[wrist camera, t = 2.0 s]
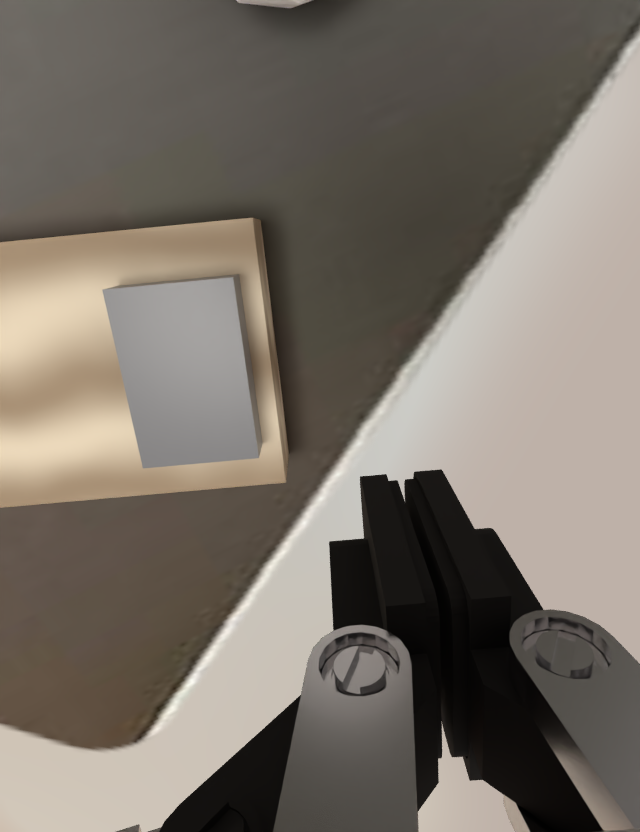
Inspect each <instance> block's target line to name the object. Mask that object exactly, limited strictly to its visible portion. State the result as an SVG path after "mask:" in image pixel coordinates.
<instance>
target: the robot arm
mask: <svg viewBox="0 0 640 832" xmlns="http://www.w3.org/2000/svg"><path fill="white" fill-rule="evenodd" d="M360 488H361V502H362V515H363V529H364V539H354V540H342V541H331V542H329V546H330V568H331V587H332V608H333V629H334V631H332V632H331V633H329V634H327V635H326V636H324V637H323V638H321V640H320V641H319V642H318V643H317V644H316V645H315V646H314V647H313V649H312V652H311V654H310V656H309V659H308V663H307V668H306V673H305V677H304V682H303V687H302V692H301V695H300V696H299V697H298V698H297V699H296V700H295V701H294V702H293V703H291V704H290V705H289V706H288V707H287V708H286V709H285V710H284V711H283V712H281V713H280V714H279V715H278V716H277V717H276V718H275V719H274V720H273V721H272V722H270V723H269V724H268V725H267V726H266V727H265V728H264V729H263V730H262V731H260V732H259V733H258V734H257V735H256V736H255V737H254V738H253V739H252V740H250V741H249V742H248V743H247V744H246V745H245V746H244V747H243V748H242V749H241V750H239V751H238V752H237V753H236V754H235V755H234V756H233V757H232V758H231V759H229V760H228V761H227V762H226V763H225V764H224V765H223V766H222V767H221V768H220V769H218V770H217V771H216V772H215V773H214V774H213V775H212V776H211V777H210V778H208V779H207V780H206V781H205V782H204V783H203V784H202V785H201V786H200V787H198V788H197V789H196V790H195V791H194V792H193V793H192V794H191V795H190V796H188V797H187V798H186V799H185V800H184V801H183V802H182V803H181V804H180V805H179V806H178V807H177V808H176V809H175V811H174V812H173V813H172V814H171V815H170V816H169V817H168V818H167V819H166V821H165V822H164V824H163V826H162V827H161V828H158V829H155V830H152V831H149V832H418V811H419V809H420V808H421V806H422V805H423V804H424V802H425V801H426V799H427V798H428V797H429V795H430V794H431V792H432V791H433V790H434V788H435V787H436V785H437V784H438V758H441V757H442V730H441V729H442V724H443V728H444V732H445V736H446V739H447V743H448V747H449V750H450V754H451V756H452V757H462V756H463V759H464V762H465V766H466V769H467V772H468V776H469V779H470V781H471V780H484V781H486V782H487V783H488V784H489V785H491V786H492V787H494V788H495V789H497V790H498V791H499V792H501V793H502V794H504V806H505V809H506V812H507V815H508V818H509V820H510V822H511V824H512V826H513V828H514V831H515V832H640V664H639V663H638V662H637V661H636V660H635V659H634V657H632V655H631V654H630V653H629V652H628V651H627V650H626V649H625V648H624V647H623V646H622V645H621V644H620V643H619V642H618V641H617V640H616V639H615V638H614V637H613V636H612V635H611V634H610V633H608V632H607V631H606V630H605V629H604V628H602V627H601V626H600V625H598V624H596V623H594V622H592V621H590V620H589V619H587V618H585V617H582V616H579V615H576V614H573V613H570V612H566V611H557V610H543V608H542V607H541V605H540V603H539V602H538V600H537V598H536V597H535V595H534V594H533V592H532V591H531V589H530V587H529V586H528V584H527V582H526V581H525V579H524V578H523V576H522V574H521V572H520V571H519V569H518V568H517V566H516V564H515V563H514V561H513V560H512V558H511V557H510V555H509V553H508V551H507V550H506V548H505V547H504V545H503V543H502V542H501V540H500V539H499V537H498V535H497V534H496V532H495V531H494V530H493V529H491V528H484V529H474V527H473V526H472V524H471V522H470V520H469V518H468V516H467V514H466V513H465V511H464V509H463V507H462V505H461V504H460V502H459V500H458V498H457V496H456V494H455V493H454V491H453V489H452V487H451V485H450V484H449V482H448V480H447V478H446V477H445V475H444V473H443V471H442V470H431V471H420V472H414V477H413V479H407V480H405V501H404V499H403V495H402V492H401V490H400V487H399V484H398V481H396V480H395V481H388V478H387V475H386V474H385V475H375V476H363V477H360ZM441 721H442V724H441ZM117 832H141V829H140V825H136V826H132V827H130V828H126V829H123V830H120V831H117Z"/></svg>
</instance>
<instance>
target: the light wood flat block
mask: <svg viewBox="0 0 640 832" xmlns="http://www.w3.org/2000/svg"><path fill="white" fill-rule="evenodd" d="M235 274H239V277H240V284H241V292H242V299H243V306H244V313H245V320H246V328H247V335H248V342H249V349H250V356H251V363H252V371H253V378H254V385H255V392H256V399H257V407H258V414H259V421H260V428H261V435H262V443H263V444H262V448H261V452H260V456H259V458H255V459H244V460H233V461H222V462H210V463H199V464H188V465H177V466H166V467H154V468H143V467H142V462H141V458H140V453H139V449H138V445H137V440H136V436H135V431H134V427H133V423H132V418H131V414H130V409H129V405H128V401H127V396H126V392H125V388H124V383H123V379H122V374H121V370H120V366H119V361H118V357H117V352H116V348H115V344H114V339H113V335H112V330H111V326H110V322H109V317H108V313H107V308H106V304H105V300H104V295H103V291H102V290H103V289H107V288H111V287H115V286H120V285H130V284H141V283H151V282H162V281H172V280H182V279H193V278H203V277H214V276H224V275H235ZM288 459H289V450H288V442H287V433H286V425H285V417H284V409H283V400H282V392H281V384H280V376H279V367H278V359H277V351H276V343H275V334H274V326H273V318H272V310H271V301H270V293H269V285H268V277H267V269H266V260H265V252H264V244H263V236H262V227H261V220H259V219H255V218H244V219H233V220H223V221H213V222H203V223H192V224H182V225H172V226H162V227H151V228H141V229H131V230H121V231H110V232H100V233H90V234H80V235H69V236H59V237H49V238H39V239H29V240H18V241H8V242H0V508H1V507H13V506H24V505H35V504H47V503H58V502H69V501H81V500H92V499H104V498H115V497H126V496H138V495H149V494H160V493H172V492H183V491H194V490H206V489H217V488H228V487H240V486H251V485H262V484H274V483H285V482H286V477H287V468H288Z"/></svg>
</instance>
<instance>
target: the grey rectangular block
mask: <svg viewBox="0 0 640 832" xmlns="http://www.w3.org/2000/svg"><path fill="white" fill-rule="evenodd" d="M102 291H103V295H104V300H105V304H106V308H107V313H108V317H109V322H110V326H111V330H112V335H113V339H114V344H115V348H116V352H117V357H118V361H119V366H120V370H121V374H122V379H123V383H124V388H125V392H126V396H127V401H128V405H129V409H130V414H131V418H132V423H133V427H134V431H135V436H136V440H137V445H138V449H139V453H140V458H141V462H142V467H143V468H154V467H166V466H177V465H188V464H199V463H210V462H222V461H233V460H244V459H255V458H259V456H260V452H261V448H262V444H263V443H262V435H261V428H260V421H259V414H258V407H257V399H256V392H255V385H254V378H253V371H252V363H251V356H250V349H249V342H248V335H247V328H246V320H245V313H244V306H243V299H242V292H241V284H240V277H239V274H235V275H224V276H214V277H203V278H193V279H182V280H172V281H162V282H151V283H141V284H130V285H120V286H115V287H111V288H107V289H103V290H102Z"/></svg>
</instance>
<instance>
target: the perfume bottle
mask: <svg viewBox="0 0 640 832" xmlns="http://www.w3.org/2000/svg"><path fill="white" fill-rule="evenodd" d="M236 1H237V2H238V3H244V4H254V5H263V6H273V7H282V8H293V7H296V6H298V5H301V4H304V3H307V2H310V1H312V0H236Z"/></svg>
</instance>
